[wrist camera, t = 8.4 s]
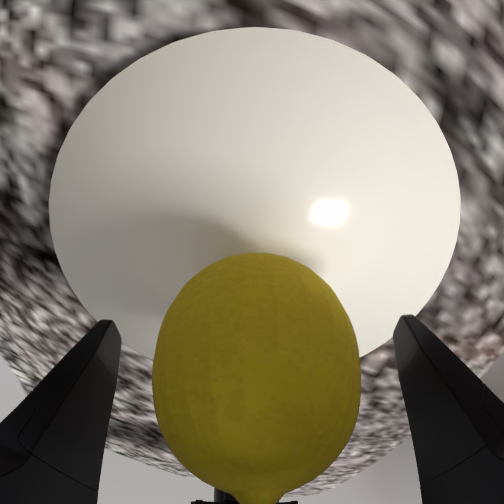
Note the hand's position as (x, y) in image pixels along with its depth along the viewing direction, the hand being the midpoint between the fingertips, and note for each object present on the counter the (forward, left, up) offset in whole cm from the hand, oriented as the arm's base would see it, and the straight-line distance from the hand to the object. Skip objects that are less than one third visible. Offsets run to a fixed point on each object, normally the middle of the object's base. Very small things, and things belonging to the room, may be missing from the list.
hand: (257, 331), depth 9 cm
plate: (0, 0, -4) cm, 4 cm away
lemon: (0, 0, -3) cm, 3 cm away
